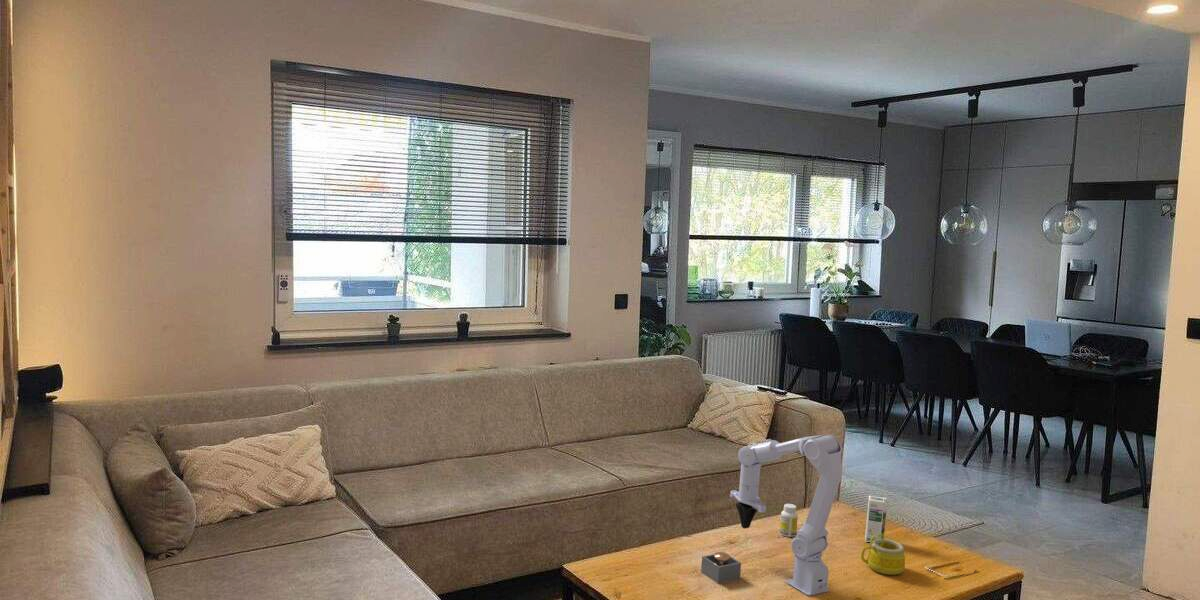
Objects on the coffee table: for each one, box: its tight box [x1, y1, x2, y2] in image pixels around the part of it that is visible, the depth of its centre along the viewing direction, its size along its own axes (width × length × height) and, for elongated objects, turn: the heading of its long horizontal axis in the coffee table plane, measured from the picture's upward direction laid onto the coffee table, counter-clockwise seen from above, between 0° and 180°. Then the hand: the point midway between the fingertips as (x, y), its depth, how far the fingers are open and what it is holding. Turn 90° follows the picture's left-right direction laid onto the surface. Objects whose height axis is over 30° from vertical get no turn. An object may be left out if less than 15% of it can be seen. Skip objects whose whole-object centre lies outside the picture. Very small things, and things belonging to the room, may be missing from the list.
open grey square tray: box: [700, 551, 742, 584], centre depth 245 cm, size 8×8×5 cm
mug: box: [860, 529, 906, 576], centre depth 256 cm, size 13×11×12 cm
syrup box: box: [864, 495, 888, 543], centre depth 278 cm, size 6×6×14 cm
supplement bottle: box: [779, 503, 799, 538], centre depth 280 cm, size 5×5×10 cm
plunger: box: [713, 551, 731, 566], centre depth 245 cm, size 6×6×5 cm
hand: (745, 527), depth 257 cm, fingers closed
